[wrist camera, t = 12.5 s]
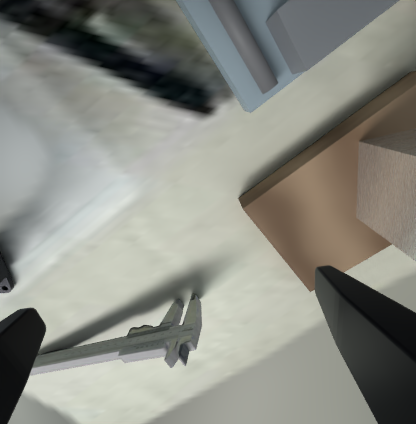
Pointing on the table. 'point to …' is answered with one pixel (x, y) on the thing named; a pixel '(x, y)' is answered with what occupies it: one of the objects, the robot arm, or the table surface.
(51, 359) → the caliper
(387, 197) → the steel sleeve
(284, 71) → the vise
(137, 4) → the table surface
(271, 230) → the walnut board
